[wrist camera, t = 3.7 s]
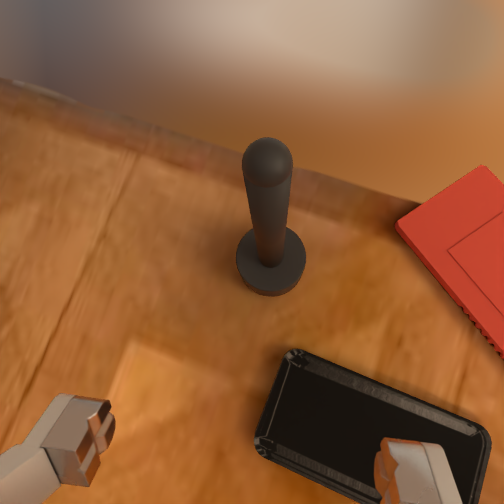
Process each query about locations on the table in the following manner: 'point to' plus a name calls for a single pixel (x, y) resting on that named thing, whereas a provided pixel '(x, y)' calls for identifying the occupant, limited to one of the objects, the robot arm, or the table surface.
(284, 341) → the table surface
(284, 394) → the phone
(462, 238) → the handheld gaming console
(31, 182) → the table surface
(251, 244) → the dark post on base
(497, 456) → the table surface
